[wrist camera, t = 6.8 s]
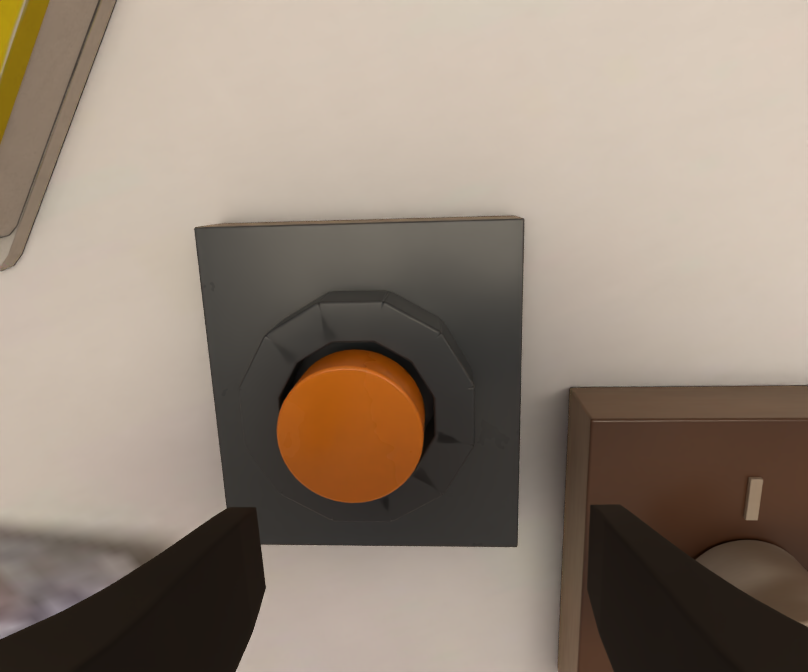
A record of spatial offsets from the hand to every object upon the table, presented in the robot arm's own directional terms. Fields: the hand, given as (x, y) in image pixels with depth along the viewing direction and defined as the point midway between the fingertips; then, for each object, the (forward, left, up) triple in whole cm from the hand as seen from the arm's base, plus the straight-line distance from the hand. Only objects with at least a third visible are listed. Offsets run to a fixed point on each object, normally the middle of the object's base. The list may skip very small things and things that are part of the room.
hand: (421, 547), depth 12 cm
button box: (+1, +2, -9) cm, 9 cm away
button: (+1, +2, -5) cm, 6 cm away
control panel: (-6, -10, -9) cm, 14 cm away
